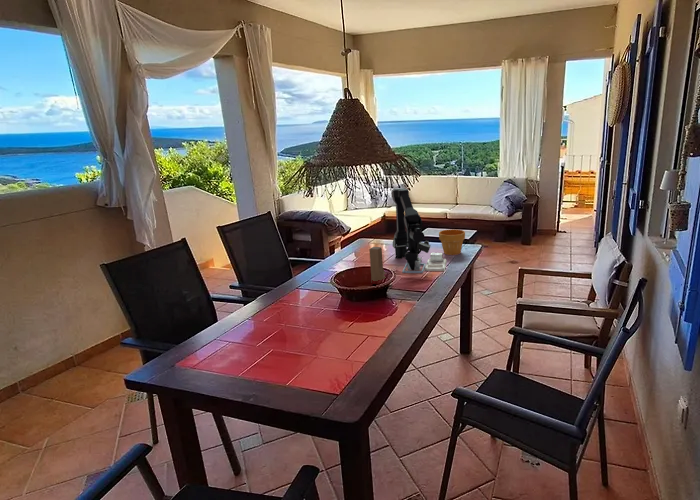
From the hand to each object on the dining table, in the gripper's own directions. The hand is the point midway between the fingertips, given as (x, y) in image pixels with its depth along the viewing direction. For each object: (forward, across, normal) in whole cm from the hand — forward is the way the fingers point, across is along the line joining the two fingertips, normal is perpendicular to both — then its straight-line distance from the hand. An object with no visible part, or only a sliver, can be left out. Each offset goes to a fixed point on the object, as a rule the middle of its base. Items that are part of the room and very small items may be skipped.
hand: (414, 267), depth 220 cm
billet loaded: (+1, +10, -10) cm, 15 cm away
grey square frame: (+2, +12, +2) cm, 12 cm away
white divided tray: (+2, +6, -10) cm, 12 cm away
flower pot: (+2, +30, -18) cm, 34 cm away
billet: (+1, 0, 0) cm, 1 cm away
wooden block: (+2, -22, +12) cm, 25 cm away
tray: (+2, 0, 0) cm, 2 cm away
